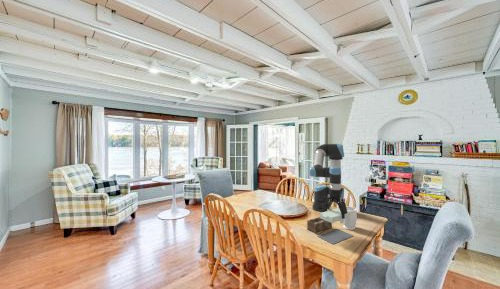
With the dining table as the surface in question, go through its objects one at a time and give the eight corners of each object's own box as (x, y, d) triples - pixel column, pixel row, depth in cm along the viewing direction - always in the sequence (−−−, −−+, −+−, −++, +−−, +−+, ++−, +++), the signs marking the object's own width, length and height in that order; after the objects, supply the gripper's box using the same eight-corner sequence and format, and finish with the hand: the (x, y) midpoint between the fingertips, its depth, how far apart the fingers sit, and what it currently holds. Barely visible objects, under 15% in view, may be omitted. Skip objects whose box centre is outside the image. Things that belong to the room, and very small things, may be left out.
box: (323, 224, 165) (323, 215, 165) (331, 228, 158) (331, 219, 158) (307, 229, 156) (307, 220, 156) (315, 233, 149) (315, 224, 149)
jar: (344, 223, 166) (344, 205, 165) (358, 227, 159) (358, 207, 159) (340, 228, 157) (340, 209, 157) (354, 232, 151) (355, 211, 150)
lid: (338, 212, 153) (338, 208, 153) (350, 217, 145) (350, 211, 145) (318, 218, 143) (318, 213, 142) (330, 223, 134) (330, 218, 134)
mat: (337, 229, 156) (337, 228, 156) (353, 236, 145) (353, 235, 145) (317, 236, 145) (317, 235, 145) (332, 244, 134) (332, 244, 134)
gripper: (318, 186, 152) (319, 216, 152) (346, 193, 132) (346, 227, 133) (325, 185, 155) (325, 214, 156) (353, 191, 136) (353, 224, 136)
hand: (335, 220), depth 144 cm, fingers closed on lid, 10 cm apart
